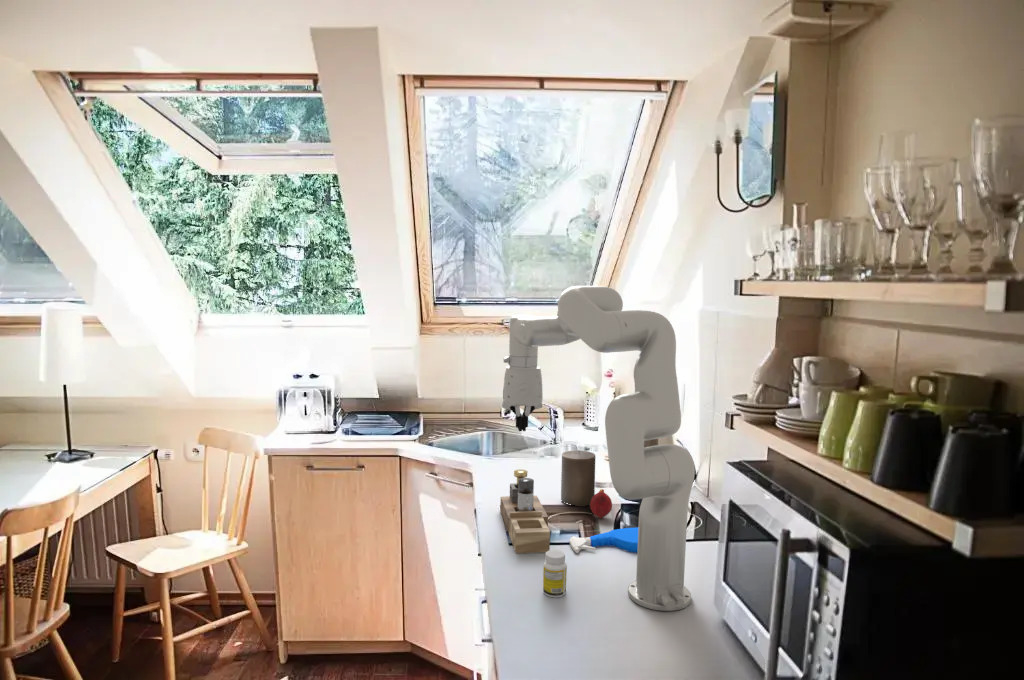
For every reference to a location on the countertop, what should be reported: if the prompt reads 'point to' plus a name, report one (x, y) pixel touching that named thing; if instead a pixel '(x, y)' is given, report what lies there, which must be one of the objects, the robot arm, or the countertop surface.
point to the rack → (529, 532)
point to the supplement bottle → (554, 574)
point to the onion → (601, 504)
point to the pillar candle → (578, 477)
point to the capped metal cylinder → (525, 494)
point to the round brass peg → (520, 474)
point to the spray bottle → (608, 540)
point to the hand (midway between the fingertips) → (521, 429)
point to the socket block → (511, 505)
